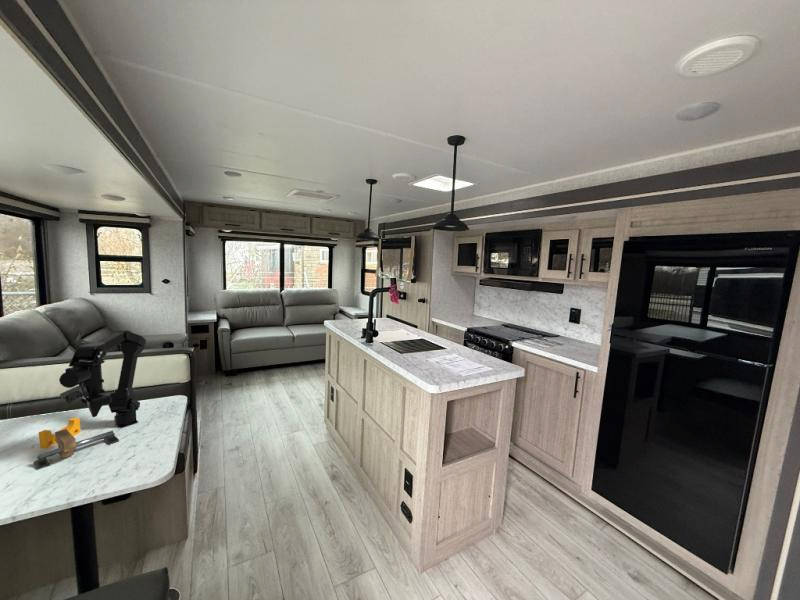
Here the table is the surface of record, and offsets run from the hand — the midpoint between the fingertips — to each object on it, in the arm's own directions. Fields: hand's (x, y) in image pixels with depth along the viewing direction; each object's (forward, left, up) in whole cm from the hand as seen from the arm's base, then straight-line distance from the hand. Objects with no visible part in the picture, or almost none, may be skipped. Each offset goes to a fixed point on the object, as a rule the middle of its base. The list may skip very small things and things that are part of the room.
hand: (94, 416), depth 124 cm
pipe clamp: (+7, -17, -12) cm, 22 cm away
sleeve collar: (+8, 0, -12) cm, 15 cm away
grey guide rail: (+5, 0, -12) cm, 13 cm away
